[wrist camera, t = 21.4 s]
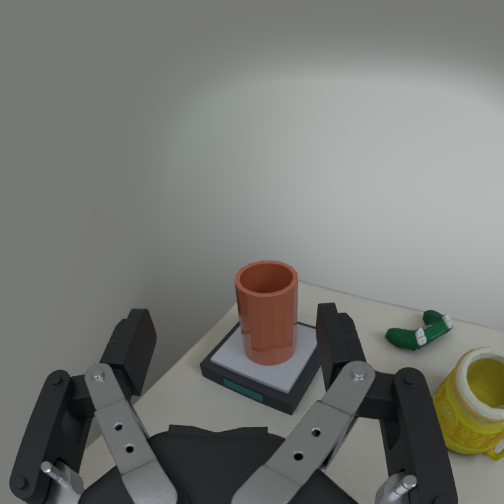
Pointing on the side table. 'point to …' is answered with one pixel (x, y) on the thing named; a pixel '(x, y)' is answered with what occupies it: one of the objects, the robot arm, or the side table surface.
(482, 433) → the mug
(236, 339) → the scale
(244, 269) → the cup
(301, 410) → the side table surface
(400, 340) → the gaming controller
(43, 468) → the robot arm
